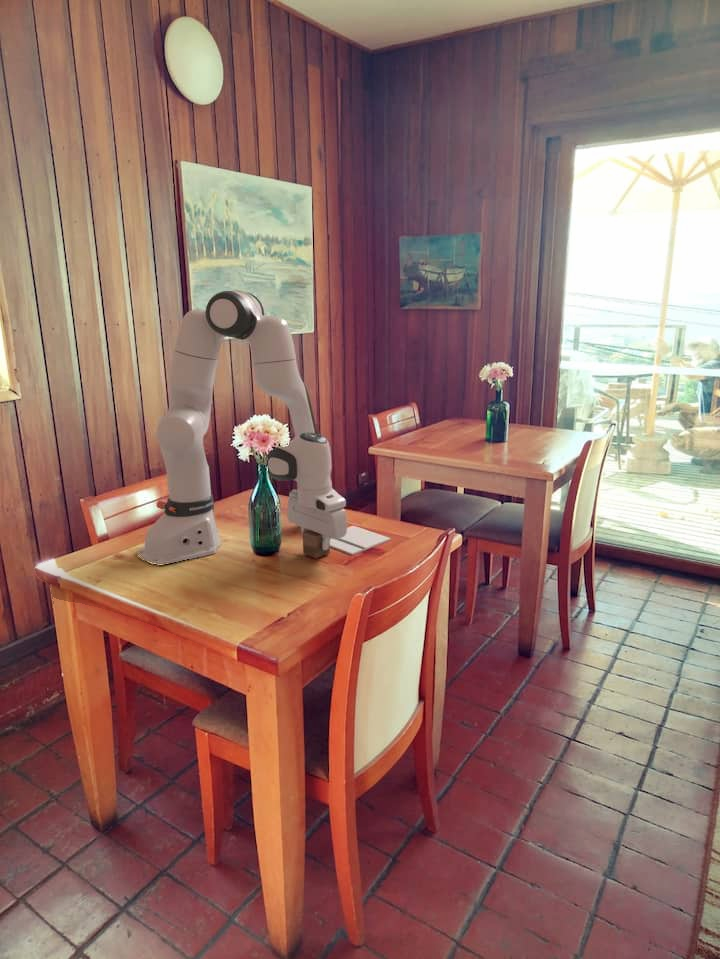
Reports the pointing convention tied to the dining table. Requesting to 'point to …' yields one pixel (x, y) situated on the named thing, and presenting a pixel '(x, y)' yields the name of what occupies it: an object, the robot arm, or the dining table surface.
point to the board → (357, 540)
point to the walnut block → (313, 544)
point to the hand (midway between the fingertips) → (316, 545)
